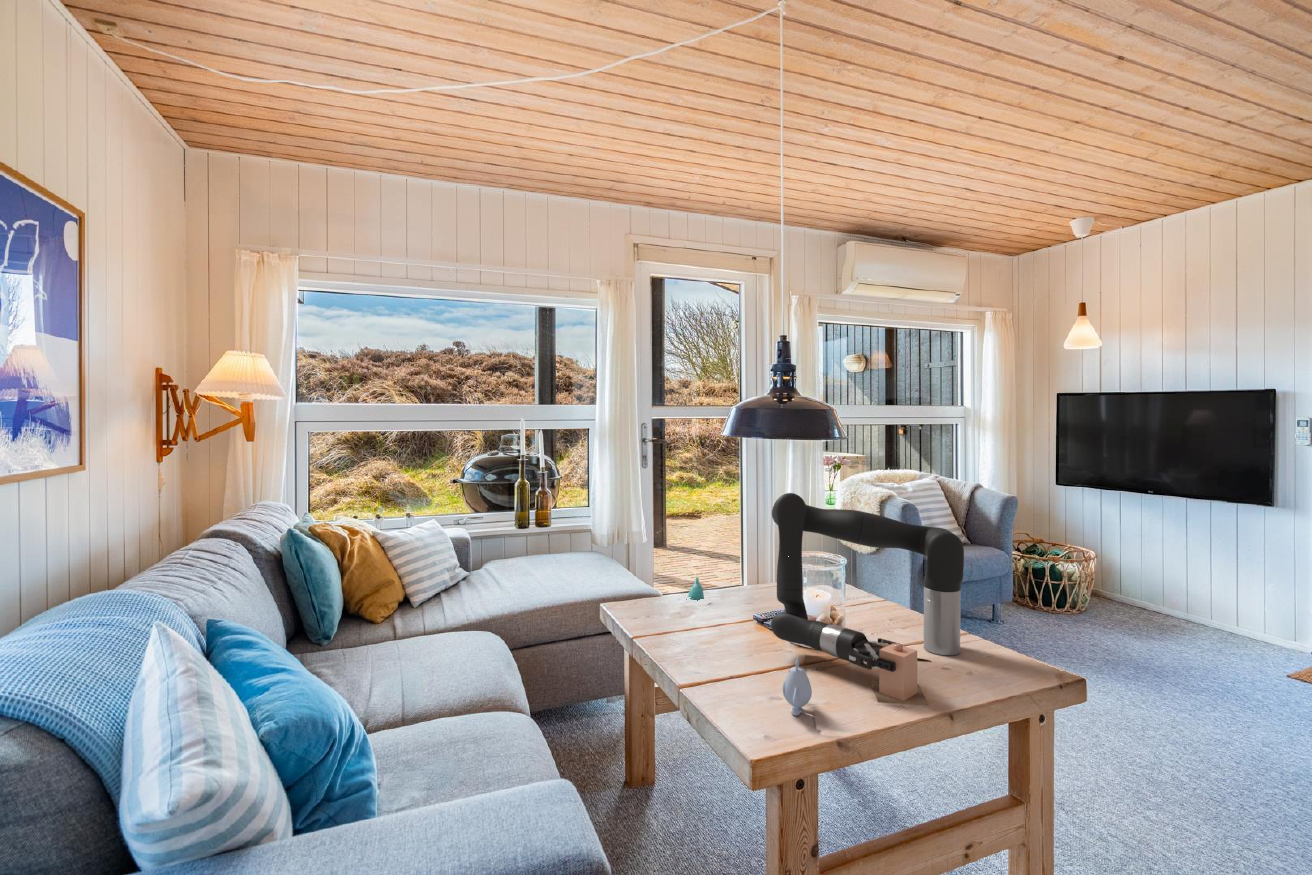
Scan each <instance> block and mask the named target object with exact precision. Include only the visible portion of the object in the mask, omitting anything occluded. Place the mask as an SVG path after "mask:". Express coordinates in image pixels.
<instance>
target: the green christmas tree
mask: <svg viewBox="0 0 1312 875" xmlns="http://www.w3.org/2000/svg"><path fill="white" fill-rule="evenodd" d="M704 596H705V595H704V589H703V587H702V585H701V583H700V580H699V577H698V576H696V577H695V582H694V584H693V586H692V587H691V589H690V590H689V591H688V594H687V598H688V597H691V598H690V599H691V600H697V601H698V600H700V599H704V598H705V597H704ZM686 600H687V599H686Z"/></svg>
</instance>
